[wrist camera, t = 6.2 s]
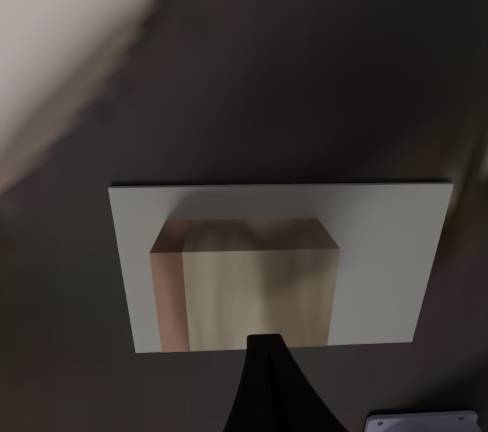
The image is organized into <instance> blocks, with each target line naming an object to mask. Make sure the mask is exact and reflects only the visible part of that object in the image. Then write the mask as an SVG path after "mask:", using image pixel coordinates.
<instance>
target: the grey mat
mask: <svg viewBox="0 0 488 432" xmlns="http://www.w3.org/2000/svg"><path fill="white" fill-rule="evenodd" d="M453 185H454V184H453V183H450V182H427V183H340V184H252V185H165V186H110V187H109V188H108V190H109V196H110V202H111V208H112V214H113V220H114V226H115V232H116V238H117V244H118V250H119V256H120V262H121V268H122V274H123V280H124V286H125V291H126V297H127V303H128V309H129V315H130V321H131V327H132V333H133V339H134V345H135V351H136V353H143V352H162V350H161V342H160V334H159V326H158V318H157V310H156V302H155V294H154V286H153V278H152V271H151V263H150V255H149V253H150V251H151V249H152V247H153V245H154V243H155V241H156V239H157V237H158V235H159V233H160V231H161V229H162V227H163V225H164V223H165V221H166V220H216V219H274V218H318V220H319V221H320V222H321V224H322V225H323V226H324V228H325V229H326V230H327V232H328V233H329V234H330V236H331V237H332V238H333V240H334V241H335V242H336V244H337V245H338V246H339V248H340V255H339V263H338V270H337V277H336V285H335V292H334V300H333V307H332V314H331V322H330V329H329V337H328V344H327V345H345V344H370V343H396V342H412V339H413V335H414V332H415V328H416V324H417V320H418V317H419V313H420V309H421V305H422V302H423V298H424V294H425V290H426V287H427V283H428V279H429V275H430V272H431V268H432V264H433V260H434V257H435V253H436V249H437V245H438V242H439V238H440V234H441V230H442V227H443V223H444V219H445V215H446V212H447V208H448V204H449V200H450V197H451V193H452V189H453Z"/></svg>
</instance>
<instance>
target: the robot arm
mask: <svg viewBox="0 0 488 432" xmlns="http://www.w3.org/2000/svg"><path fill="white" fill-rule="evenodd" d="M477 419H478V415H477V414H476V413H475V411H472V410H466V411H447V412H428V413H409V414H390V415H373V416H370V417H368V418H367V421H366V426H365V430H364V432H482V430H481V429H480V428H479V426H478V425H477V424H476V421H477ZM223 432H348V431H347V429H346V428H345V427H344V426H343V425H342V424H341V423H340V422H339V420H338V419H337V418H336V417H335V416H334V414H333V413H332V412H331V411H330V410H329V408H328V407H327V406H326V405H325V403H324V402H323V401H322V399H321V398H320V397H319V395H318V394H317V393H316V391H315V390H314V389H313V387H312V386H311V384H310V383H309V382H308V380H307V379H306V377H305V375H304V374H303V372H302V371H301V369H300V368H299V366H298V365H297V363H296V361H295V360H294V358H293V356H292V355H291V353H290V351H289V349H288V347H287V346H286V344H285V342H284V340H283V337H282V335H280V334H279V333H278V334H251V335H248V336H247V351H246V358H245V363H244V368H243V372H242V377H241V381H240V384H239V388H238V391H237V394H236V397H235V401H234V404H233V407H232V410H231V412H230V415H229V418H228V420H227V423H226V426H225V428H224V430H223Z"/></svg>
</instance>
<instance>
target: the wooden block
mask: <svg viewBox="0 0 488 432" xmlns="http://www.w3.org/2000/svg"><path fill="white" fill-rule="evenodd" d="M149 255H150V263H151V271H152V278H153V286H154V294H155V302H156V310H157V318H158V326H159V334H160V342H161V350H162V352H184V351H209V350H234V349H247V336H248V335H251V334H278V333H279V334H280V335H282V337H283V340H284V342H285V344H286V346H287V347H309V346H327V344H328V337H329V329H330V322H331V314H332V307H333V300H334V292H335V285H336V277H337V270H338V263H339V255H340V248H339V246H338V245H337V244H336V242H335V241H334V240H333V238H332V237H331V236H330V234H329V233H328V232H327V230H326V229H325V228H324V226H323V225H322V224H321V222H320V221H319V220H318V218H274V219H216V220H166V221H165V223H164V225H163V227H162V229H161V231H160V233H159V235H158V237H157V239H156V241H155V243H154V245H153V247H152V249H151V251H150V253H149Z"/></svg>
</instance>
